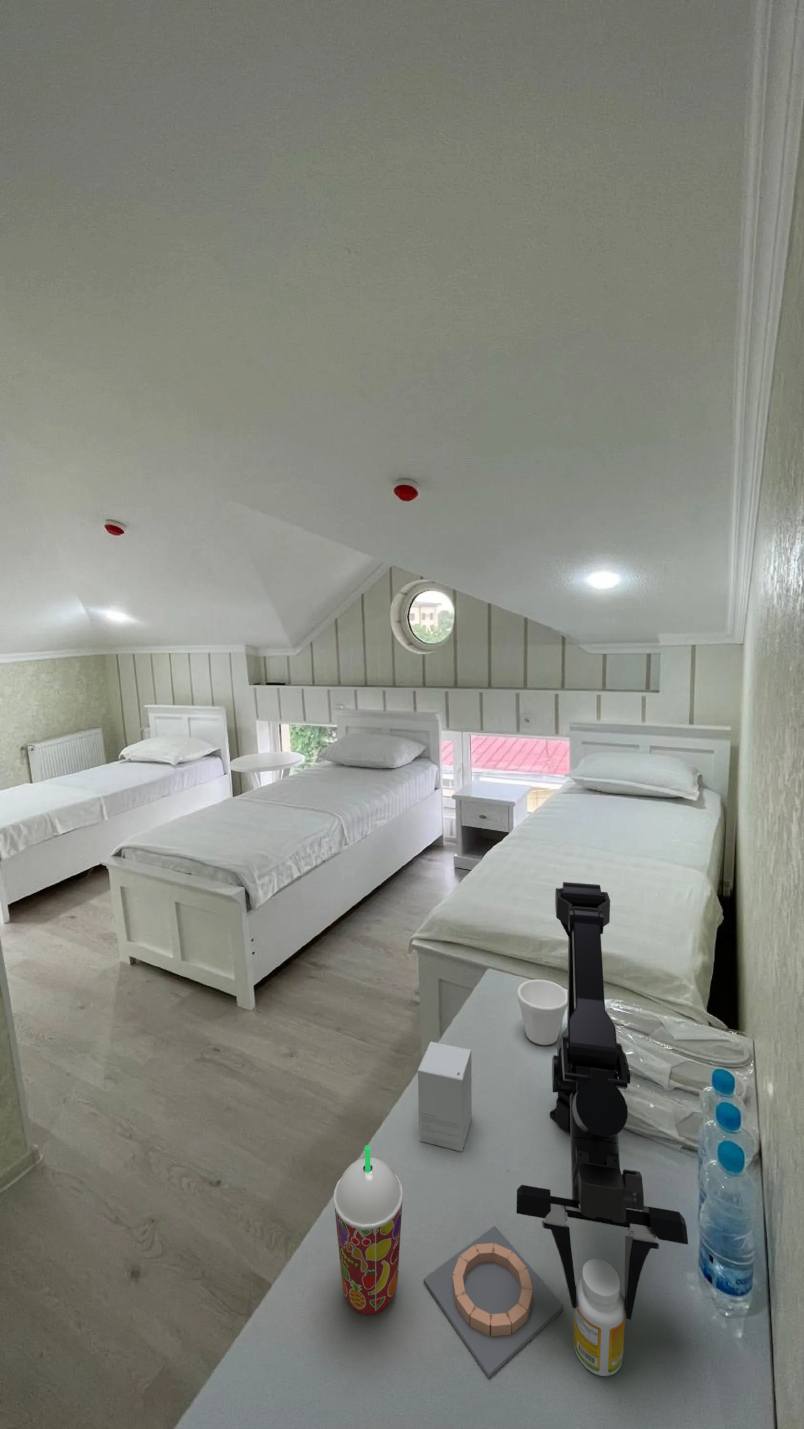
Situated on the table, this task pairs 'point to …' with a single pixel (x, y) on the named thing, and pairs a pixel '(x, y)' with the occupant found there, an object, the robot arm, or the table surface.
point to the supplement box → (445, 1096)
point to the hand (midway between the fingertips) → (601, 1313)
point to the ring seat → (492, 1299)
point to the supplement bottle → (599, 1318)
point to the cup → (542, 1010)
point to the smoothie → (368, 1233)
